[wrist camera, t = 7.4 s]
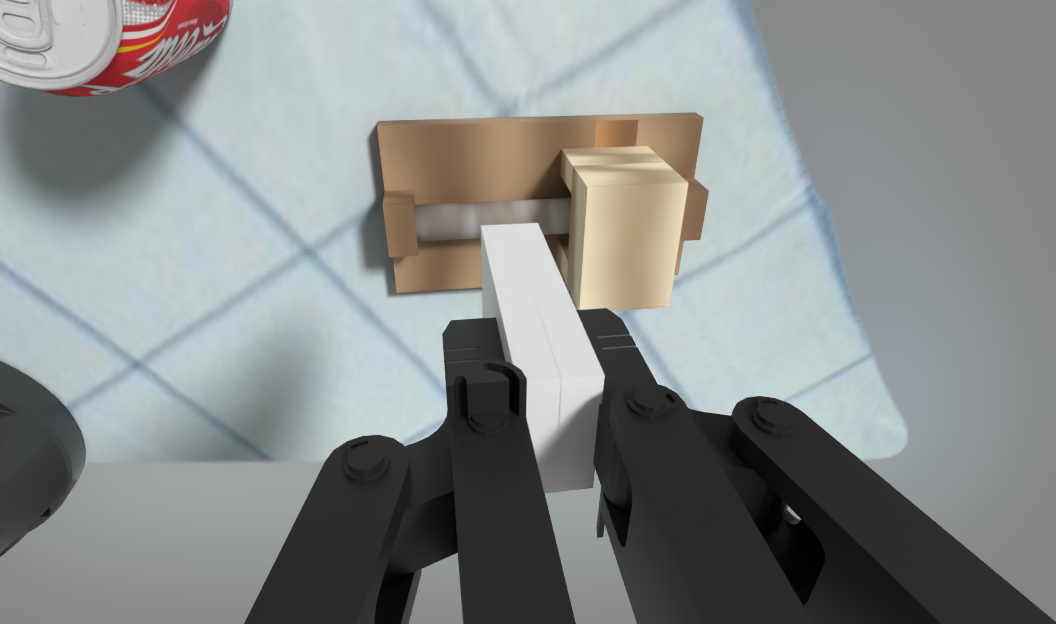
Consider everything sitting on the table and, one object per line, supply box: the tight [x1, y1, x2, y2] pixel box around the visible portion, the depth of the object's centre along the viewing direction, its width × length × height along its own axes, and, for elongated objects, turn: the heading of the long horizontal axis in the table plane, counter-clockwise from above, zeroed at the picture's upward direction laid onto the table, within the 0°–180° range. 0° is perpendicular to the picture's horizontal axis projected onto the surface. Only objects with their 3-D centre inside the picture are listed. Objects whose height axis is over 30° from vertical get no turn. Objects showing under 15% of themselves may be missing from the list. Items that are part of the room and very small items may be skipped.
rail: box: [377, 113, 709, 293], centre depth 35 cm, size 18×10×4 cm, turn 89°
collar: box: [557, 146, 688, 311], centre depth 33 cm, size 5×7×6 cm
